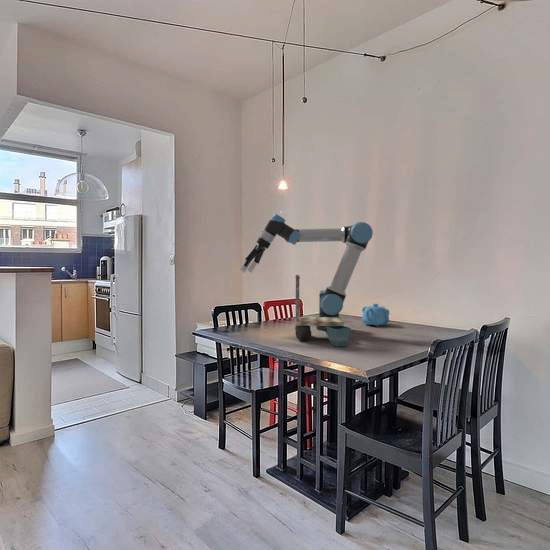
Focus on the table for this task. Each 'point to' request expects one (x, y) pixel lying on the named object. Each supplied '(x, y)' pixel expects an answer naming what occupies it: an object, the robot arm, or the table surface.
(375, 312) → the decorative pot
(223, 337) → the table surface
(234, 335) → the table surface
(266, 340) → the table surface
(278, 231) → the robot arm
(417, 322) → the table surface
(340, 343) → the flower pot
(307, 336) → the trolley
